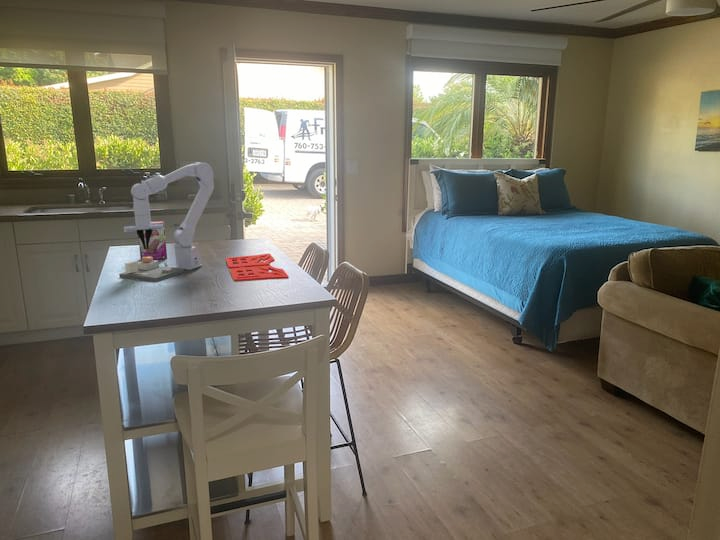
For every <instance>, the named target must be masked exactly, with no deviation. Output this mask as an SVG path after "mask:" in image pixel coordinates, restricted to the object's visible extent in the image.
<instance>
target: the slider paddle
mask: <svg viewBox="0 0 720 540" xmlns="http://www.w3.org/2000/svg"><path fill="white" fill-rule="evenodd" d="M137 263H138V261H137V260H132V261H128V262H125V263H124V267H125V272H126V273H133V272H136V271H138V267H137Z"/></svg>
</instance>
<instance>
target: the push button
mask: <svg viewBox="0 0 720 540" xmlns="http://www.w3.org/2000/svg"><path fill="white" fill-rule="evenodd" d="M152 262H153V257H151V256H148V257H142V263H152Z"/></svg>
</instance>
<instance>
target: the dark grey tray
mask: <svg viewBox="0 0 720 540" xmlns="http://www.w3.org/2000/svg"><path fill="white" fill-rule="evenodd" d="M137 267H138V271H136V272H133V273H126V271H124V272H121V273H119V275H118V276H119V278H121V279H127V278H130V279H129V280H136V279H138V280H137V281H145V280H146V281H147V282H154V281H155V282H160V281H163V280H166V279H169V278H172V277H175V276H177V275H180V274H184V273H183V272H184V269H179V268H172V267H165V266H160V261H159V260H153V262H152V263H142V261H141V260H140V261H137Z"/></svg>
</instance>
